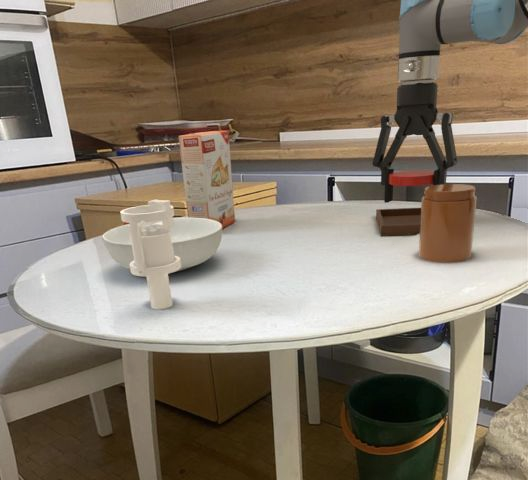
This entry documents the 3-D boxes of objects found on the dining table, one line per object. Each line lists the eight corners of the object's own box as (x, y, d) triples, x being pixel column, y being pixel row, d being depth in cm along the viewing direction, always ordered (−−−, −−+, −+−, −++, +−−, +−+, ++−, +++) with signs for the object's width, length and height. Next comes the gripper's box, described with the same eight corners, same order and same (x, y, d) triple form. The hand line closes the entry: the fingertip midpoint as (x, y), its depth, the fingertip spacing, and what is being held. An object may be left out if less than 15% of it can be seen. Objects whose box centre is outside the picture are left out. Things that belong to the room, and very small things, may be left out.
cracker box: (212, 235, 118) (202, 133, 109) (188, 234, 120) (176, 135, 111) (237, 221, 130) (229, 129, 121) (215, 221, 132) (205, 130, 123)
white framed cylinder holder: (169, 316, 73) (152, 205, 67) (127, 312, 76) (107, 205, 70) (195, 299, 79) (181, 195, 73) (155, 296, 82) (139, 195, 75)
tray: (451, 233, 105) (452, 223, 104) (380, 236, 107) (381, 225, 106) (437, 216, 120) (438, 206, 119) (376, 218, 122) (376, 209, 122)
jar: (476, 254, 91) (483, 184, 86) (462, 267, 85) (469, 192, 80) (428, 249, 95) (432, 183, 90) (411, 262, 89) (414, 191, 84)
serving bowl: (128, 293, 84) (120, 250, 81) (97, 265, 101) (90, 229, 98) (245, 267, 93) (242, 228, 90) (198, 246, 110) (194, 212, 107)
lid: (392, 179, 115) (392, 170, 115) (438, 178, 112) (439, 169, 111) (385, 186, 107) (385, 177, 107) (435, 185, 104) (435, 176, 103)
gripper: (356, 87, 105) (355, 203, 115) (471, 78, 93) (460, 208, 103) (371, 86, 111) (369, 197, 120) (482, 78, 99) (471, 201, 108)
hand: (411, 202), depth 112 cm, fingers closed on lid, 9 cm apart
